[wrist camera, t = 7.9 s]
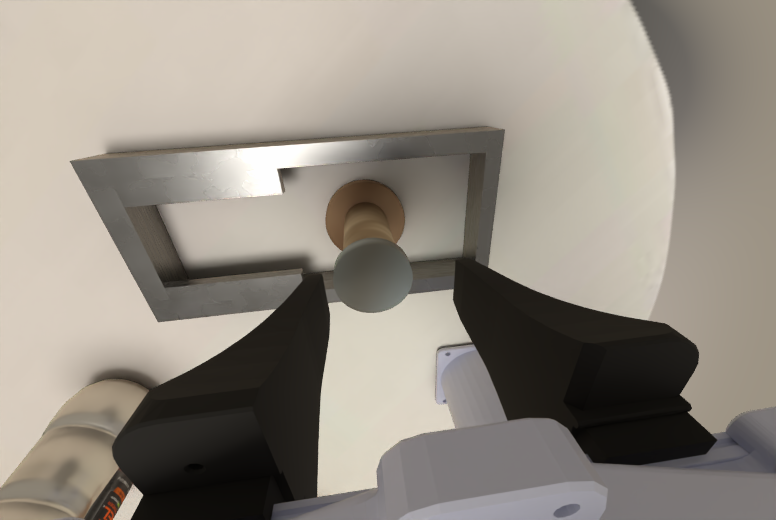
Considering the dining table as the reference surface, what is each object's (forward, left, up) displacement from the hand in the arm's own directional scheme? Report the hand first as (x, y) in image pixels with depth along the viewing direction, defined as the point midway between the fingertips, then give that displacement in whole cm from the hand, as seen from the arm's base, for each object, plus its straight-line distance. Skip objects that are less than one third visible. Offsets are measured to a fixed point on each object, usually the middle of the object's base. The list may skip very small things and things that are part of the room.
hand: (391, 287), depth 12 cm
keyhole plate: (+5, +1, -10) cm, 12 cm away
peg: (+1, +1, -10) cm, 10 cm away
